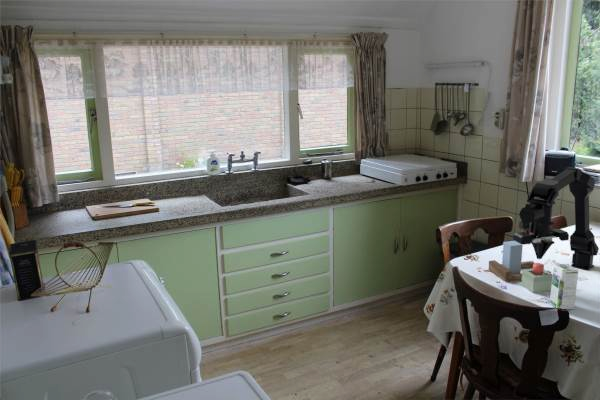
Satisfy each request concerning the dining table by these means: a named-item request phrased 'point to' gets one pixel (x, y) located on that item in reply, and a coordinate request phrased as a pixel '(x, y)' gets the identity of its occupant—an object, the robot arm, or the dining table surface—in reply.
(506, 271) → the bar
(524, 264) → the rails
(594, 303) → the dining table surface
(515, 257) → the pale blue upright block
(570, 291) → the syrup box
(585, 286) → the dining table surface
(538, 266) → the gauge button
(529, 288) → the pale green box
